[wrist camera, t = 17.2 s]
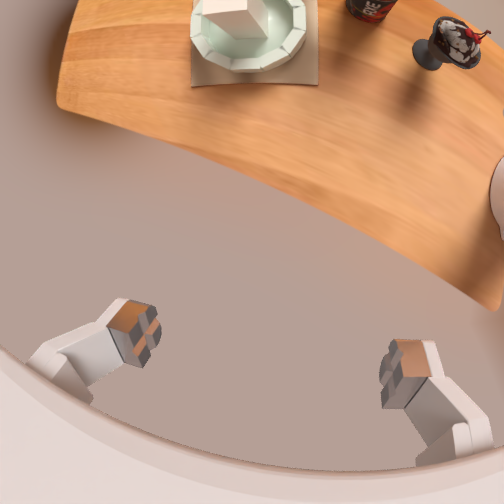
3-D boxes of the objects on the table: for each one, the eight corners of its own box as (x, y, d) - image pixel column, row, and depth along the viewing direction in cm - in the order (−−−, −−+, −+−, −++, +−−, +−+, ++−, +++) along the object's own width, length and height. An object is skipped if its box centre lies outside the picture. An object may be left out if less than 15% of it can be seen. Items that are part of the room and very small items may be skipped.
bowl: (305, -15, 23) (303, -26, 20) (307, 74, 31) (306, 69, 27) (202, -8, 26) (192, -16, 23) (200, 76, 34) (189, 73, 30)
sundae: (452, 52, 23) (507, 36, 10) (438, 84, 26) (493, 77, 14) (416, 25, 23) (459, -7, 10) (400, 57, 26) (443, 32, 13)
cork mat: (315, -21, 23) (315, -22, 22) (318, 85, 32) (318, 84, 31) (195, -12, 26) (194, -13, 26) (192, 86, 35) (191, 86, 35)
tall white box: (268, 11, 26) (247, -24, 16) (268, 38, 28) (247, 9, 18) (235, 13, 27) (203, -18, 17) (235, 39, 29) (202, 14, 19)
